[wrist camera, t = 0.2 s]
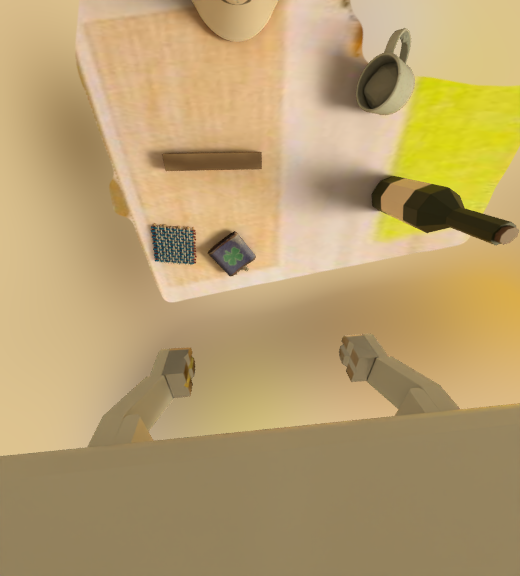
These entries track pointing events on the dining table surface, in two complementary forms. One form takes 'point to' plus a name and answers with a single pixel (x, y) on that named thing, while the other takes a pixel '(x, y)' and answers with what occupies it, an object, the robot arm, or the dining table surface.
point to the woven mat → (174, 244)
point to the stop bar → (212, 161)
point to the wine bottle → (437, 210)
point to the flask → (232, 254)
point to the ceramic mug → (387, 78)
